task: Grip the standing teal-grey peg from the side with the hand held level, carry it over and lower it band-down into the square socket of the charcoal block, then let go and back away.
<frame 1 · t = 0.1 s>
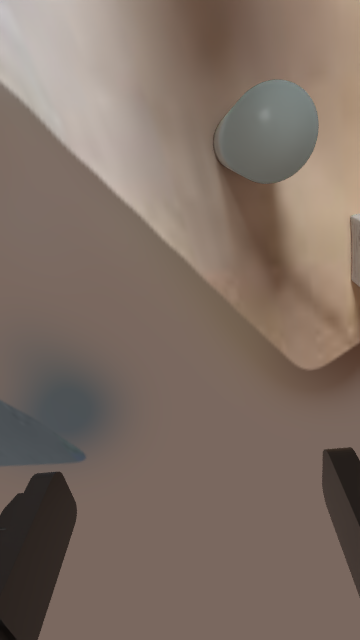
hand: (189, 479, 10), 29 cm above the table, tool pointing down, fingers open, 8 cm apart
peg: (239, 141, 32), on the table
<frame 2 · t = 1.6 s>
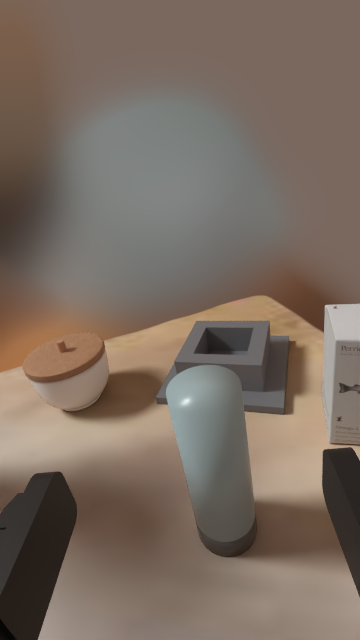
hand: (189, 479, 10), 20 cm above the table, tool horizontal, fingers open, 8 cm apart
lidded jar: (81, 397, 49), on the table
peg: (227, 525, 29), on the table
socket block: (228, 369, 49), on the table
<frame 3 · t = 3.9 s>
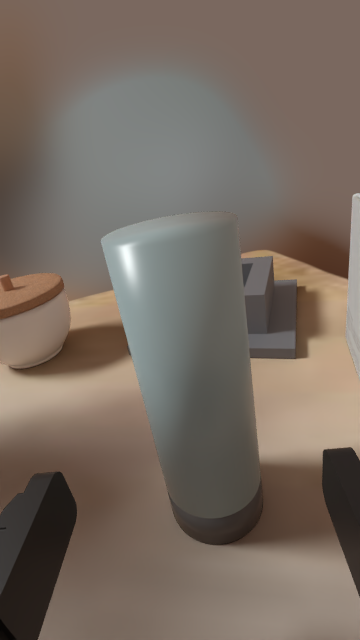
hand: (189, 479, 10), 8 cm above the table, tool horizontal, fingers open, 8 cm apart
lidded jar: (36, 355, 39), on the table
peg: (216, 497, 19), on the table
socket block: (221, 317, 39), on the table
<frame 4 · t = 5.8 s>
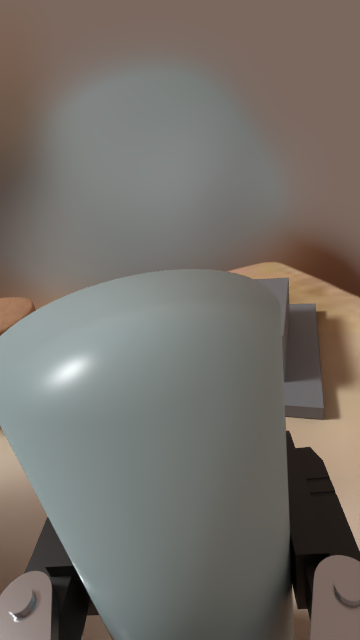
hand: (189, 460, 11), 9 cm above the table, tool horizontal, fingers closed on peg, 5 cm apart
lidded jar: (4, 395, 32), on the table
socket block: (227, 351, 32), on the table
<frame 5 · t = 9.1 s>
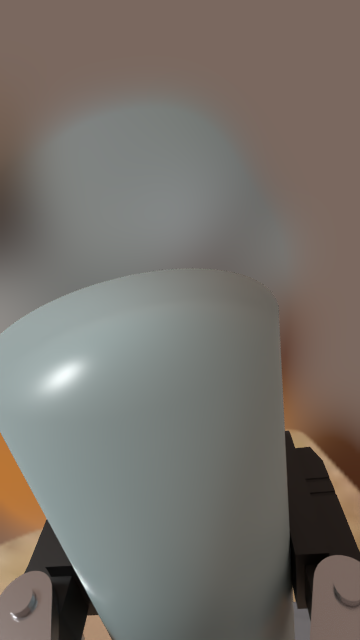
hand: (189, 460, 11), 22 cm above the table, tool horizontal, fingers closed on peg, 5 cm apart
when the fingers open (11 cm above the table, at t = 12.3 s): peg drops 1 cm, resting on socket block.
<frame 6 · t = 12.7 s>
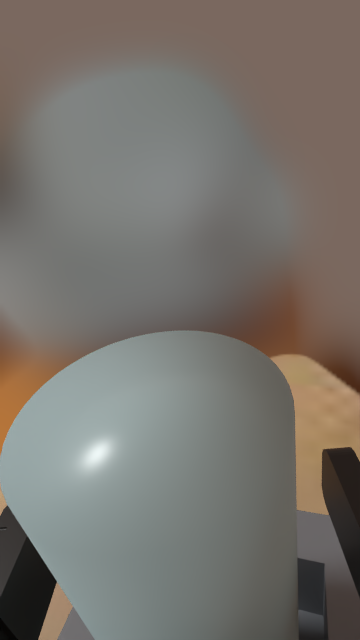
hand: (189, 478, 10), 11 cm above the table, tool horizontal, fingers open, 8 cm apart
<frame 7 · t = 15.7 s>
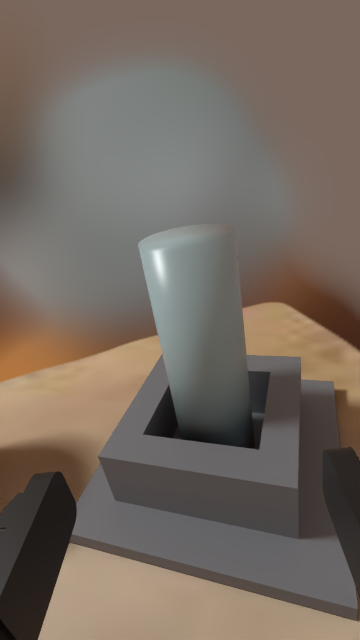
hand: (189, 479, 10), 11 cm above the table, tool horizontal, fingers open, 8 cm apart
peg: (218, 445, 24), point 1 cm above the table, touching socket block
socket block: (219, 454, 25), on the table
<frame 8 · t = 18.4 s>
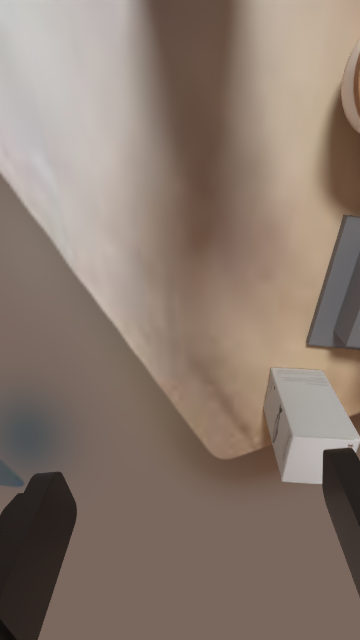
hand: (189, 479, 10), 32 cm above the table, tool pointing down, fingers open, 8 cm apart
supplement box: (291, 388, 48), on the table
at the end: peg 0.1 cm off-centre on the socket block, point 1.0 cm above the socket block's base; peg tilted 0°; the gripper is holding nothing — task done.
